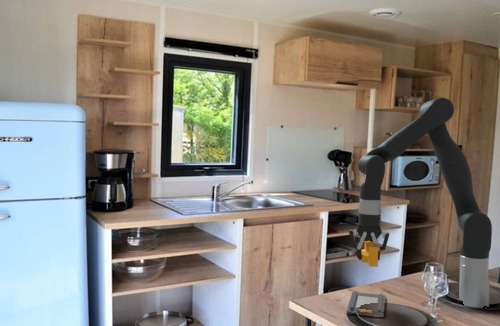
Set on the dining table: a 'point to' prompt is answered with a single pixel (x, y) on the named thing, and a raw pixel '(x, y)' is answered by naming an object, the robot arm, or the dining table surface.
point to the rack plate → (364, 301)
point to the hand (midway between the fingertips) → (368, 260)
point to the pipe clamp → (370, 254)
